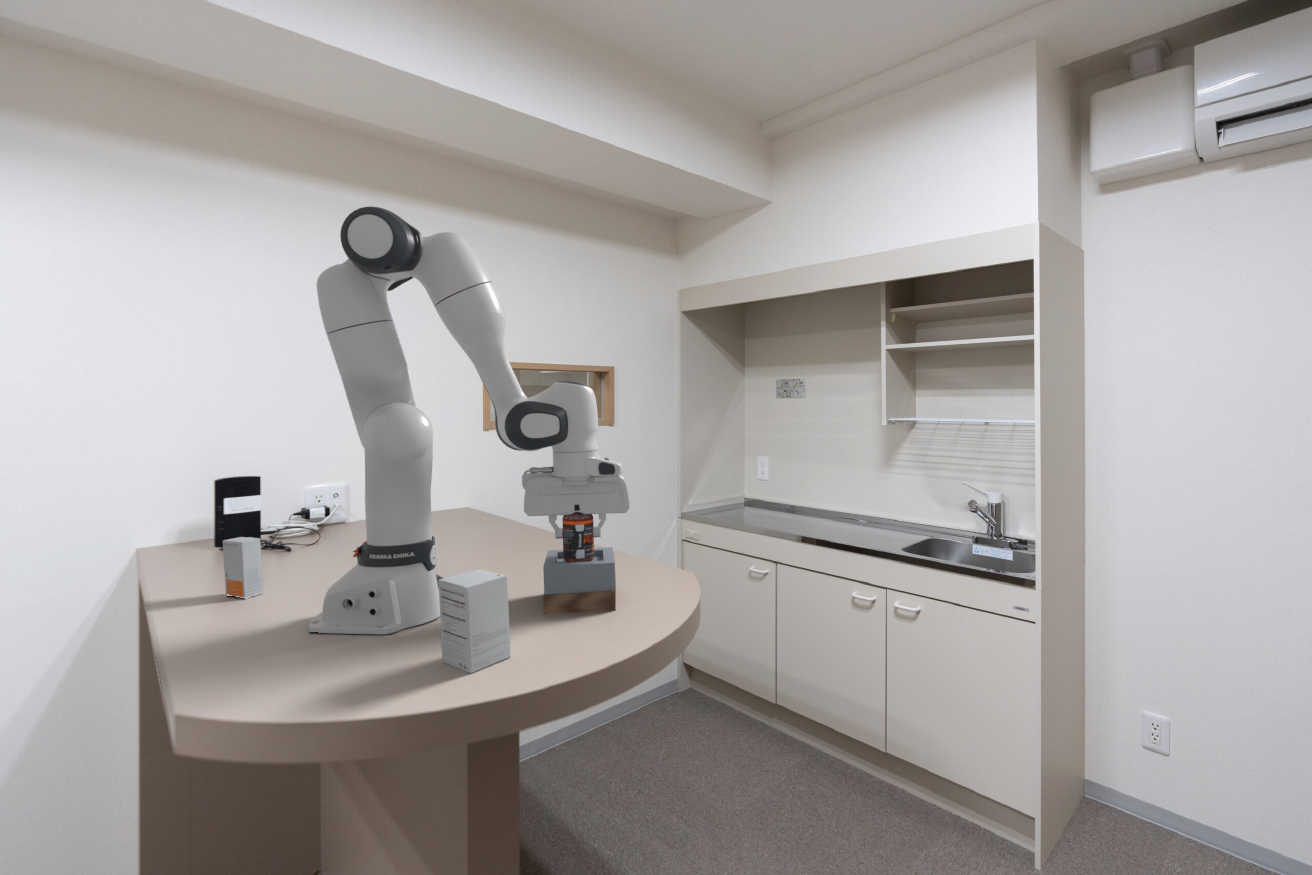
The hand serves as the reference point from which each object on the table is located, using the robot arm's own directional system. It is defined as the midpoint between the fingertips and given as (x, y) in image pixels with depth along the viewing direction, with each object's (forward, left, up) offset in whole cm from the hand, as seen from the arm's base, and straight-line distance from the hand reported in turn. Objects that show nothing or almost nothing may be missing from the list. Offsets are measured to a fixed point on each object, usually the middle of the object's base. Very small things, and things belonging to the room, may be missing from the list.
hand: (578, 537), depth 120 cm
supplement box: (-14, -27, -13) cm, 33 cm away
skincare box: (-71, +14, -13) cm, 73 cm away
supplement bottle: (0, 0, -5) cm, 5 cm away
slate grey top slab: (0, 0, -9) cm, 9 cm away
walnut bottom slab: (0, 0, -13) cm, 13 cm away
